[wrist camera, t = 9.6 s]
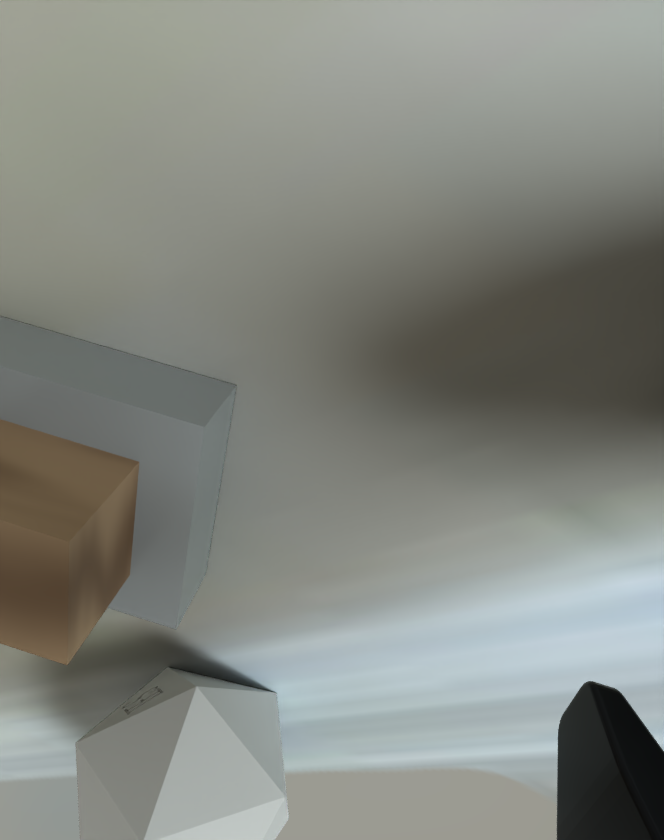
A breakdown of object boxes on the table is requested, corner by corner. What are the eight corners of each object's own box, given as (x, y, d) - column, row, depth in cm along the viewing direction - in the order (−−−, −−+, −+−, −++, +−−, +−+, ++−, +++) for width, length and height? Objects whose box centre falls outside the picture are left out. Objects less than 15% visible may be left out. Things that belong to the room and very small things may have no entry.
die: (202, 587, 27) (-20, 773, 22) (354, 745, 23) (125, 1014, 18) (223, 656, 33) (54, 812, 29) (343, 789, 30) (172, 995, 25)
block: (129, 574, 22) (67, 665, 19) (0, 533, 22) (-86, 615, 19) (139, 462, 20) (69, 541, 16) (-8, 416, 20) (-108, 486, 16)
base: (236, 385, 21) (204, 427, 19) (205, 574, 26) (176, 629, 23) (-8, 313, 22) (-73, 344, 19) (3, 511, 26) (-48, 557, 23)
